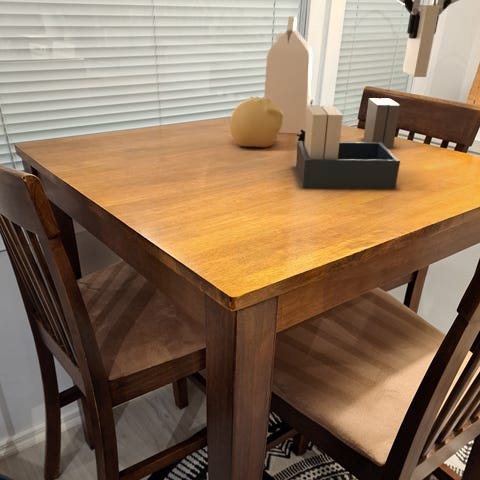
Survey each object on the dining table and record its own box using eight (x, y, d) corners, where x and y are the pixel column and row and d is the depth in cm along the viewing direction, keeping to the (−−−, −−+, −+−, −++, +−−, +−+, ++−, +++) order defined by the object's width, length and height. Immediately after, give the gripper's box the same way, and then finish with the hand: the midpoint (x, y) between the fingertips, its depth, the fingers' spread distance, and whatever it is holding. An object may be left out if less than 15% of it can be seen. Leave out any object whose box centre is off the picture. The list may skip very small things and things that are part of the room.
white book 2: (327, 170, 98) (334, 105, 92) (334, 184, 91) (342, 114, 84) (315, 170, 98) (321, 105, 92) (321, 184, 91) (328, 114, 84)
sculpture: (288, 149, 116) (291, 99, 110) (240, 153, 112) (240, 102, 106) (268, 138, 125) (270, 91, 119) (223, 142, 121) (223, 94, 115)
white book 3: (413, 71, 106) (425, 5, 99) (426, 77, 98) (439, 5, 91) (402, 71, 106) (413, 5, 99) (413, 76, 98) (426, 5, 91)
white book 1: (314, 170, 98) (320, 105, 92) (320, 184, 91) (327, 114, 84) (302, 170, 98) (307, 105, 92) (307, 184, 91) (313, 114, 84)
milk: (305, 134, 129) (314, 17, 115) (262, 131, 131) (265, 16, 117) (309, 124, 139) (318, 16, 125) (269, 122, 141) (273, 15, 127)
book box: (377, 171, 101) (381, 142, 98) (394, 193, 89) (400, 160, 86) (295, 171, 101) (297, 141, 98) (302, 192, 89) (304, 159, 86)
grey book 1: (372, 142, 122) (379, 98, 117) (381, 151, 115) (388, 105, 109) (362, 142, 122) (368, 98, 117) (370, 151, 115) (377, 104, 109)
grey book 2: (383, 142, 122) (390, 98, 117) (392, 151, 115) (400, 105, 109) (373, 142, 122) (379, 98, 117) (382, 151, 115) (389, 105, 109)
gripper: (478, -77, 91) (454, 37, 101) (391, -78, 92) (375, 37, 102) (495, -83, 85) (467, 40, 95) (401, -84, 85) (383, 39, 95)
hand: (420, 37), depth 98 cm, fingers closed on white book 3, 2 cm apart
